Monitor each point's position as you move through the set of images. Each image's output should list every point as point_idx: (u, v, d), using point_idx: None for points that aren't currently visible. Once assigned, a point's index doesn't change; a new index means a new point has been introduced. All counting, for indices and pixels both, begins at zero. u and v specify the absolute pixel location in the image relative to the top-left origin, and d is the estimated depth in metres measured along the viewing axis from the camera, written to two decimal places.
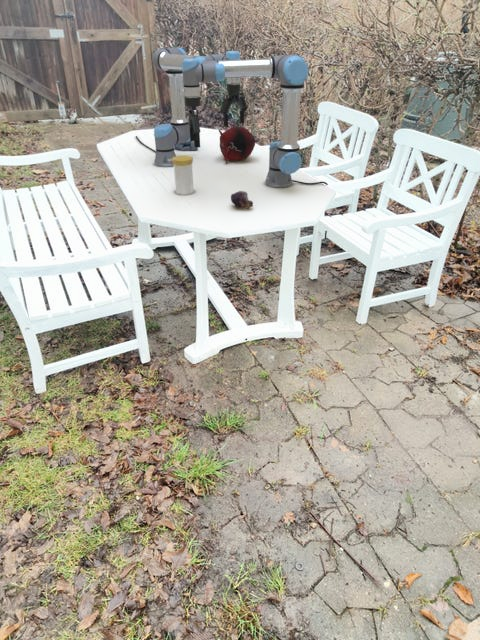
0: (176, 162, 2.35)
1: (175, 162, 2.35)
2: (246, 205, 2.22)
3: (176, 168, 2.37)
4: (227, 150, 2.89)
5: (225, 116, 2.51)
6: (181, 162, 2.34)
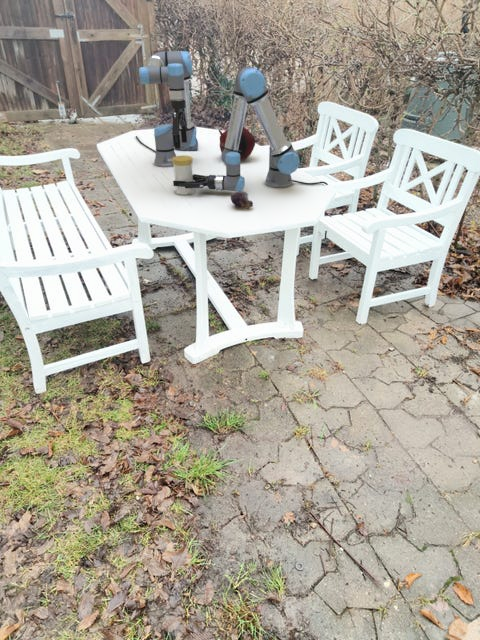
0: (176, 162, 2.35)
1: (175, 162, 2.35)
2: (246, 205, 2.22)
3: (176, 168, 2.37)
4: None
5: None
6: (181, 162, 2.34)
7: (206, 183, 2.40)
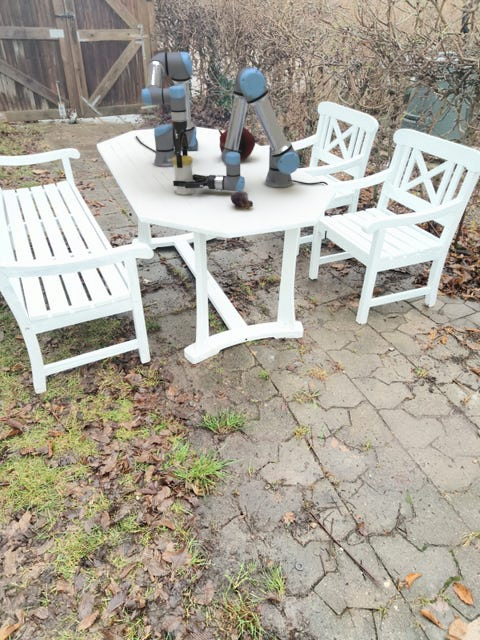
0: (176, 162, 2.35)
1: (175, 162, 2.35)
2: (246, 205, 2.22)
3: (176, 168, 2.37)
4: None
5: None
6: None
7: (206, 183, 2.40)
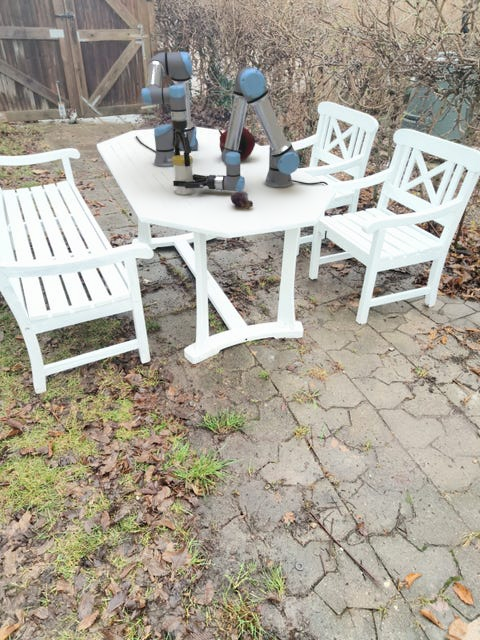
0: (190, 160, 2.36)
1: None
2: (246, 205, 2.22)
3: (176, 168, 2.37)
4: None
5: (175, 149, 2.41)
6: (192, 159, 2.39)
7: (206, 183, 2.40)
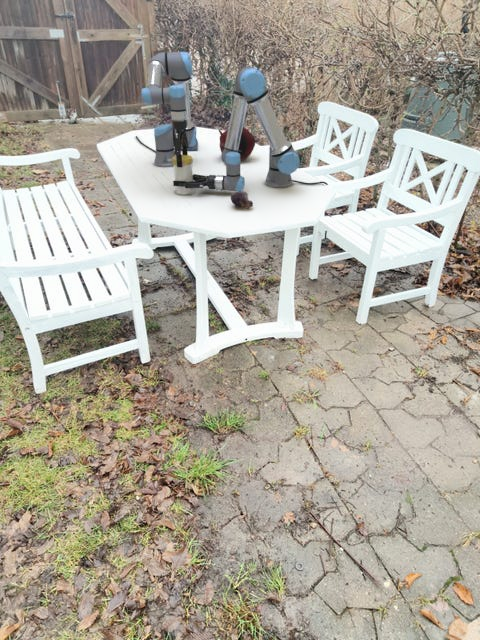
0: (190, 160, 2.36)
1: (189, 161, 2.36)
2: (246, 205, 2.22)
3: (176, 168, 2.37)
4: None
5: None
6: (192, 159, 2.39)
7: (206, 183, 2.40)
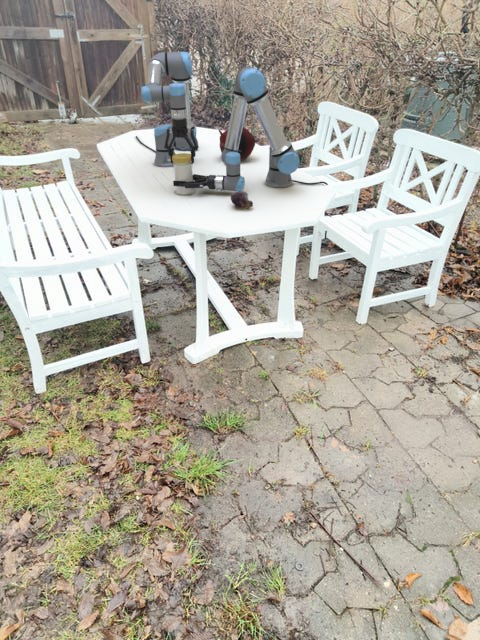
0: None
1: None
2: (246, 205, 2.22)
3: (176, 168, 2.37)
4: None
5: (169, 151, 2.37)
6: None
7: (206, 183, 2.40)
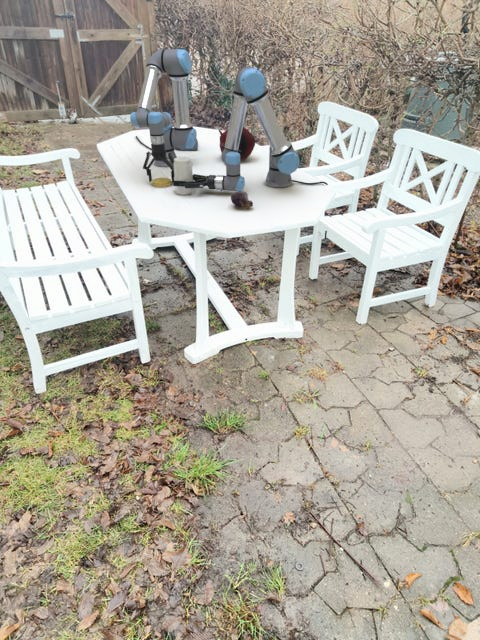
0: None
1: None
2: (246, 205, 2.22)
3: (176, 168, 2.37)
4: None
5: (147, 171, 2.56)
6: None
7: (206, 183, 2.40)
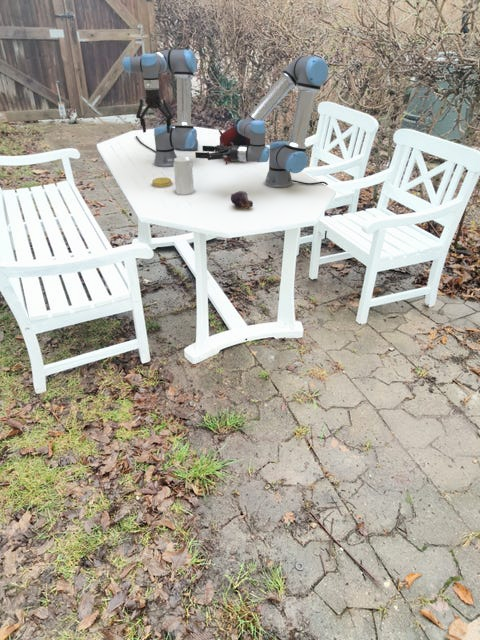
0: None
1: None
2: (246, 205, 2.22)
3: (176, 168, 2.37)
4: None
5: (141, 121, 2.41)
6: None
7: (229, 154, 2.29)
